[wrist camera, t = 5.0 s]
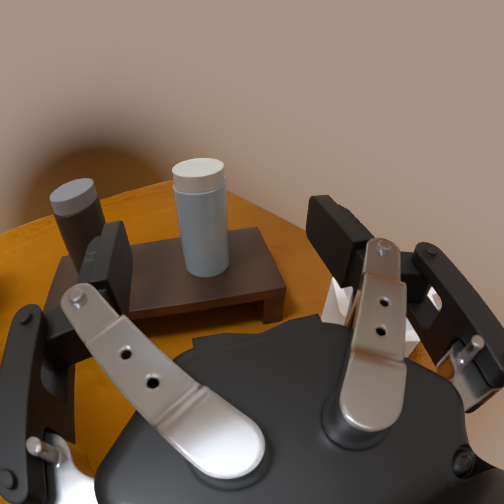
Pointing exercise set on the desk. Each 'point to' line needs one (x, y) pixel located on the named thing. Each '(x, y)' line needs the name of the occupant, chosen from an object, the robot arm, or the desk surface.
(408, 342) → the mug
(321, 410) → the robot arm
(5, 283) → the desk surface
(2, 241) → the desk surface
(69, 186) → the dark shaker
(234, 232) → the desk shelf
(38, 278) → the desk surface
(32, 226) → the desk surface
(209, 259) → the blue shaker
